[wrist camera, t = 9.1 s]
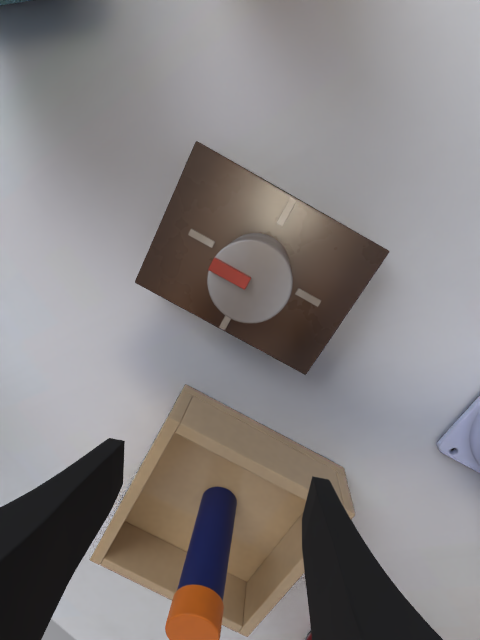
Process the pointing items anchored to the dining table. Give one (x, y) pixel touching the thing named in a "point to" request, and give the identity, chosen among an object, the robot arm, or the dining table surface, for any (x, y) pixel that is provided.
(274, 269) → the grey dial knob
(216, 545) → the marker
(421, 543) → the dining table surface
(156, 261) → the block
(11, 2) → the flower pot
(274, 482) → the open wooden box
